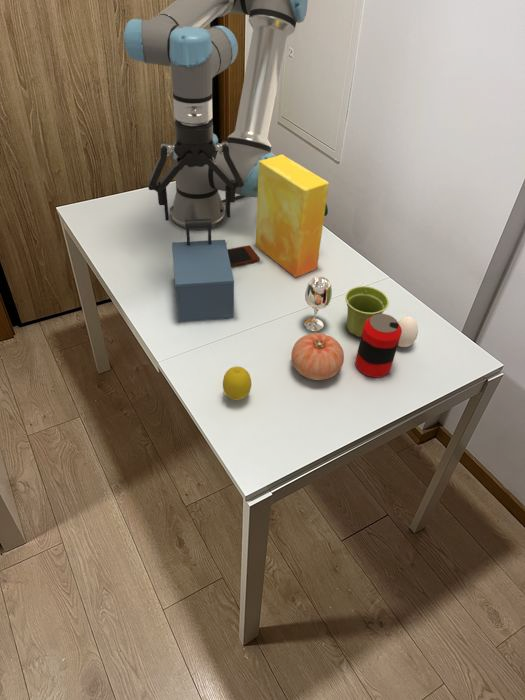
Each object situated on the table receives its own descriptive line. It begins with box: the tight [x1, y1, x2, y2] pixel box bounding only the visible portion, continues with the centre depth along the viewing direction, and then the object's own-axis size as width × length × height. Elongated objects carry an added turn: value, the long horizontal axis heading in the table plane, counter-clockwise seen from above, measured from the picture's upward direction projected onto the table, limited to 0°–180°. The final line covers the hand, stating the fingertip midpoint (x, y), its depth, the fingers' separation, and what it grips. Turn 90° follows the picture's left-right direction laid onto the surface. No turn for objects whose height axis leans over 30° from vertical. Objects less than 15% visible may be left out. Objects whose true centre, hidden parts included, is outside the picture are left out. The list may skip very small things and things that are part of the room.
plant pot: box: [344, 285, 390, 338], centre depth 119 cm, size 9×9×9 cm
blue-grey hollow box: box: [175, 282, 235, 323], centre depth 124 cm, size 16×13×10 cm
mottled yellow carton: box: [255, 154, 330, 278], centre depth 134 cm, size 18×12×24 cm
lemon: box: [222, 366, 252, 401], centre depth 103 cm, size 6×6×8 cm
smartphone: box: [227, 245, 261, 268], centre depth 139 cm, size 7×1×15 cm
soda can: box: [355, 313, 402, 378], centre depth 109 cm, size 8×8×12 cm
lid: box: [171, 219, 235, 288], centre depth 118 cm, size 16×13×7 cm
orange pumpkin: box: [290, 332, 345, 381], centre depth 109 cm, size 11×11×8 cm
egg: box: [397, 316, 419, 348], centre depth 116 cm, size 5×5×8 cm
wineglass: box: [303, 275, 333, 332], centre depth 118 cm, size 6×6×12 cm
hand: (197, 216), depth 120 cm, fingers open, 13 cm apart
